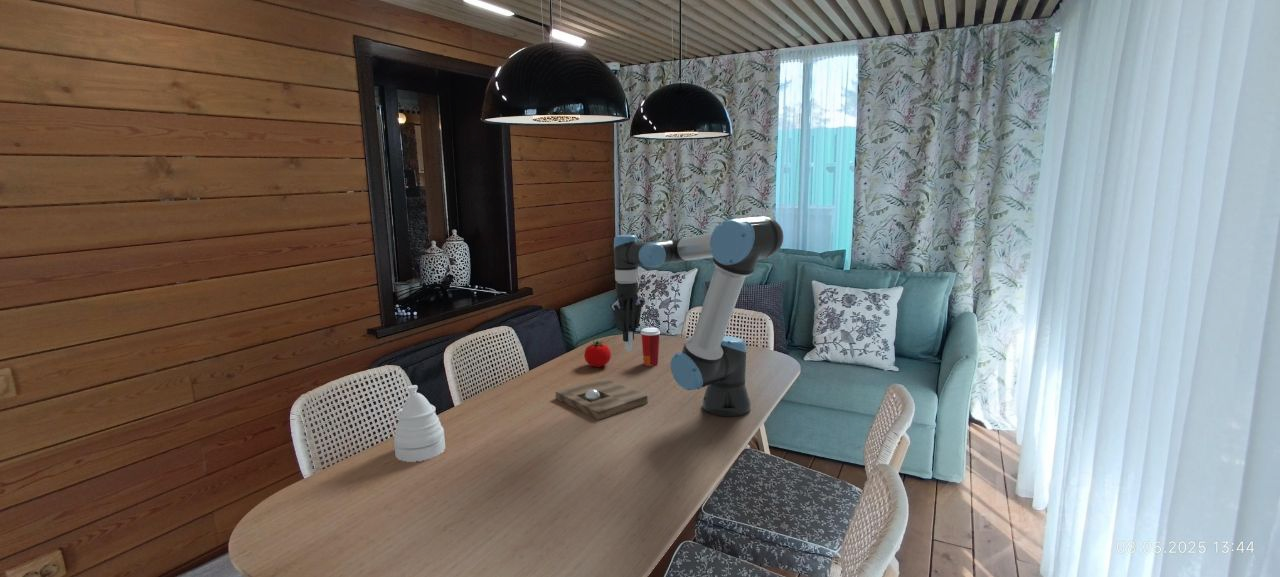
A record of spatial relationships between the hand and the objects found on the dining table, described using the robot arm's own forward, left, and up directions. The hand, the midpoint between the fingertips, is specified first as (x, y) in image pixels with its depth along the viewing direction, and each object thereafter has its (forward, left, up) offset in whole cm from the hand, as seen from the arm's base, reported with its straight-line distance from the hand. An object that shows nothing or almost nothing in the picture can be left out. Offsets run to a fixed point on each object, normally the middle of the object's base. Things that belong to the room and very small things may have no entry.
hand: (628, 350), depth 199 cm
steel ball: (0, +16, -13) cm, 20 cm away
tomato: (+31, -9, -15) cm, 35 cm away
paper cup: (+19, -26, -15) cm, 35 cm away
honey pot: (+5, +70, -15) cm, 72 cm away
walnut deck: (+1, +12, -15) cm, 19 cm away
